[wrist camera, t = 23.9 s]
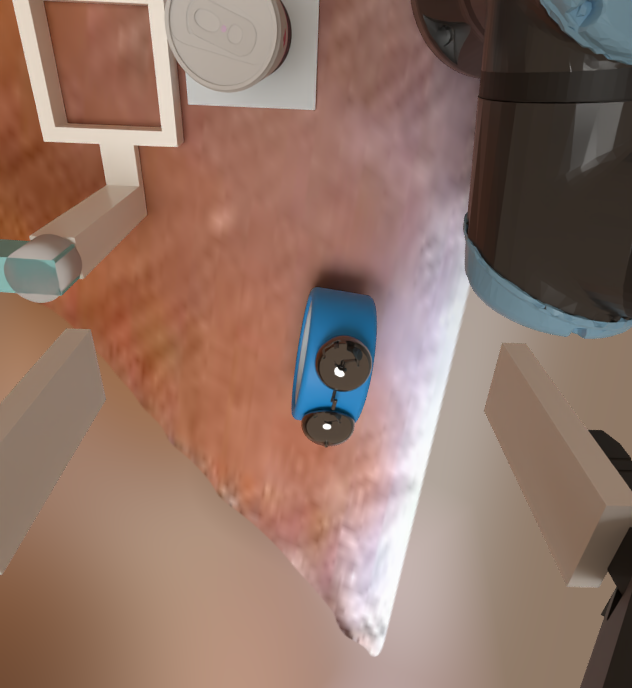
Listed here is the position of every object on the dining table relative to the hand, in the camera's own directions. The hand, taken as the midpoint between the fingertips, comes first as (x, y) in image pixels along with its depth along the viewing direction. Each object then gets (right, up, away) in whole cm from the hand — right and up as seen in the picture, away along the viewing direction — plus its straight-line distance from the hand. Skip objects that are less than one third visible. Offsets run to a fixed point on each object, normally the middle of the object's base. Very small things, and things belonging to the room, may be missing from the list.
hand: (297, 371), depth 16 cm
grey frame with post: (-17, +21, +28) cm, 39 cm away
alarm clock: (+2, +3, +39) cm, 39 cm away
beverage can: (-5, +26, +24) cm, 36 cm away
